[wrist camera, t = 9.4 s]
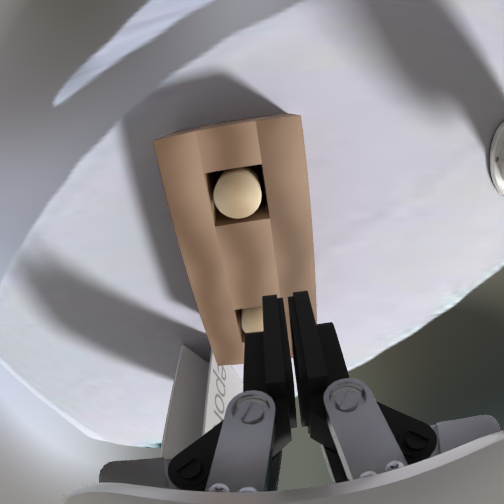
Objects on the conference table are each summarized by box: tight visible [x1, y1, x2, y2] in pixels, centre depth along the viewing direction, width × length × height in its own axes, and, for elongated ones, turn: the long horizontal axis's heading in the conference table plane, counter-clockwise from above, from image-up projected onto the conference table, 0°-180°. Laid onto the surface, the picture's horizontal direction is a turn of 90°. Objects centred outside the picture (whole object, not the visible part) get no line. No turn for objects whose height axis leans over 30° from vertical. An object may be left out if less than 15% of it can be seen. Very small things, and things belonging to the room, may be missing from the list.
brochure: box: [159, 344, 243, 459], centre depth 33 cm, size 14×6×30 cm, turn 19°
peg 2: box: [242, 306, 263, 333], centre depth 34 cm, size 4×4×8 cm
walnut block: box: [153, 113, 317, 366], centre depth 31 cm, size 12×26×8 cm, turn 9°
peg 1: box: [214, 165, 262, 219], centre depth 28 cm, size 4×4×8 cm
